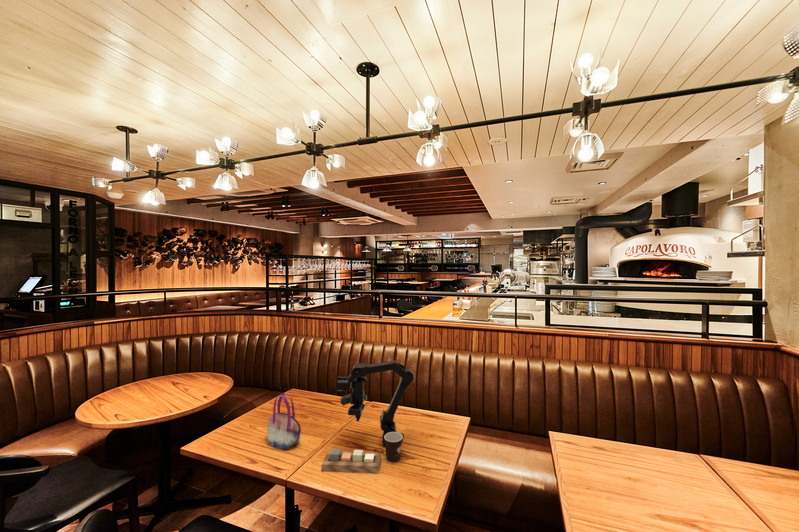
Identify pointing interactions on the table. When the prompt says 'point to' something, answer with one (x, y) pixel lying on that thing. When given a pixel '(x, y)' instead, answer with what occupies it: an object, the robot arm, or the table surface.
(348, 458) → the pink cube
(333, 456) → the gray cube
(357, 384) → the robot arm
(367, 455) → the key ivory
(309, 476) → the table surface
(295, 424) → the handbag
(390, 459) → the coffee mug
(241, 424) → the table surface
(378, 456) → the key bezel
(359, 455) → the key sage
